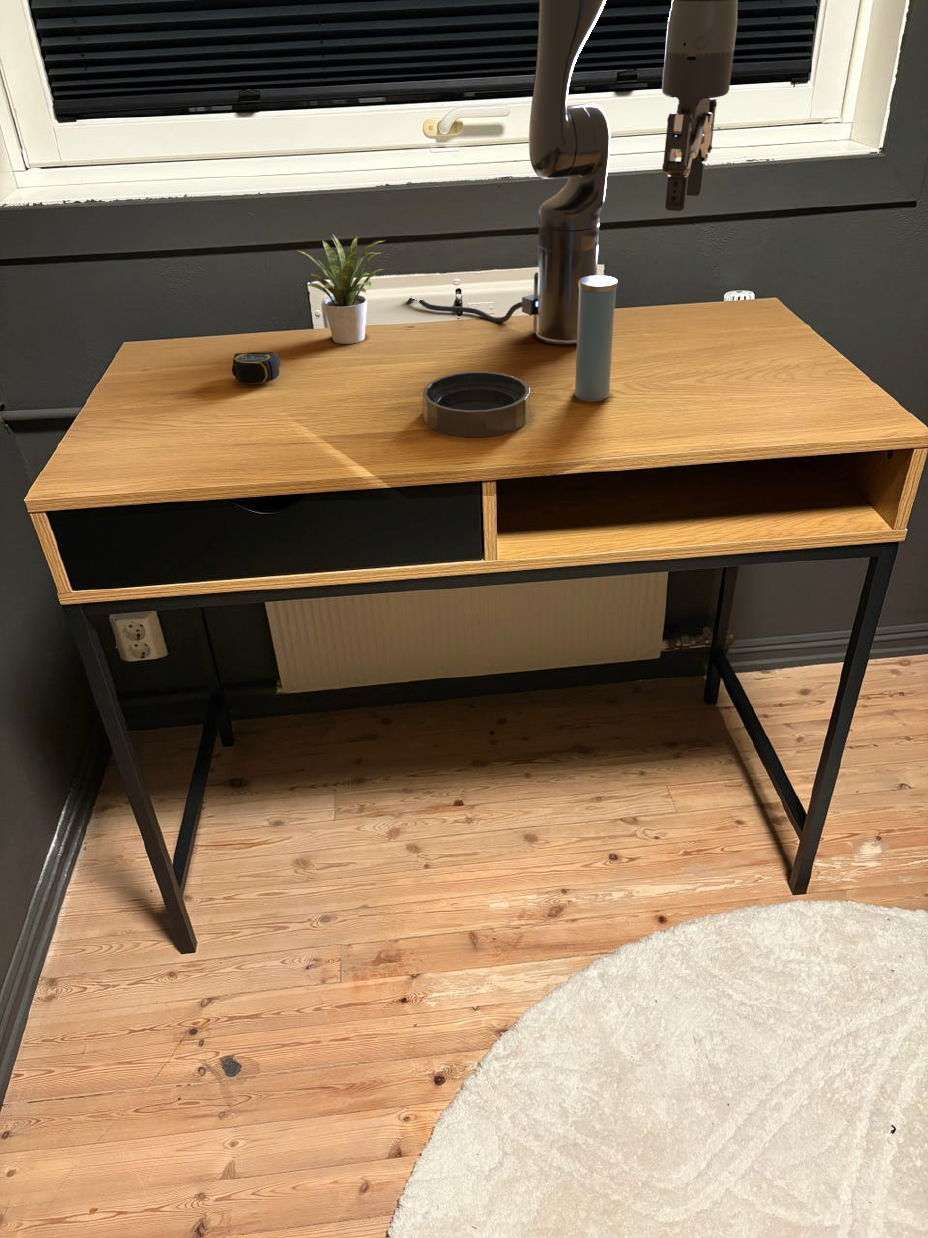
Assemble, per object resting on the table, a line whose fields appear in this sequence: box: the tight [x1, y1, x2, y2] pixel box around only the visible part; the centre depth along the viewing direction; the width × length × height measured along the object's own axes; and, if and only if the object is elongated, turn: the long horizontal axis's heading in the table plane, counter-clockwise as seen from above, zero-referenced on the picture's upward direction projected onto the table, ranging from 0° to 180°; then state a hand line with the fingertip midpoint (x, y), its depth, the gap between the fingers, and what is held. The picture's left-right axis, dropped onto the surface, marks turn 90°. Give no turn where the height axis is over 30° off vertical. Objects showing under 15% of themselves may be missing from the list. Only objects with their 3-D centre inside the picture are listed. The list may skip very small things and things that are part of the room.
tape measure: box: [231, 351, 281, 385], centre depth 140 cm, size 7×7×4 cm
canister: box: [574, 275, 618, 402], centre depth 127 cm, size 5×5×16 cm
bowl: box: [421, 370, 531, 438], centre depth 126 cm, size 14×14×4 cm
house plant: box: [298, 233, 387, 345], centre depth 150 cm, size 14×14×16 cm
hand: (683, 202), depth 114 cm, fingers open, 8 cm apart
